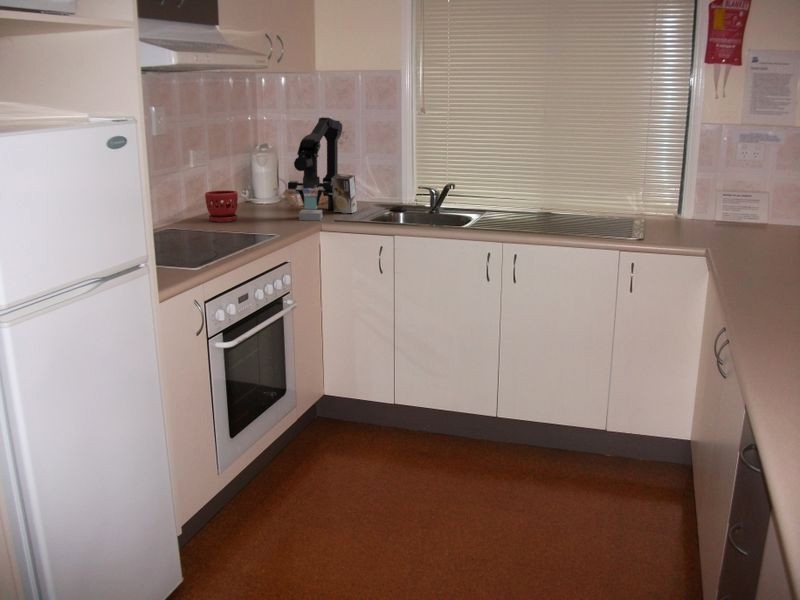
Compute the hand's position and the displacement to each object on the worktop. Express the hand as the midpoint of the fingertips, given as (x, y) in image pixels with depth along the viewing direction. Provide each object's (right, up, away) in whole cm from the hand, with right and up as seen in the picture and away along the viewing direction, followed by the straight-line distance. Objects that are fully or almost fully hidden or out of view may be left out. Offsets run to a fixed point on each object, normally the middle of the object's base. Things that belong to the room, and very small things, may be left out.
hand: (310, 205), depth 340 cm
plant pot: (-36, -7, -7) cm, 37 cm away
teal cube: (0, -1, 0) cm, 1 cm away
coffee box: (+13, -1, +18) cm, 23 cm away
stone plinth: (0, -5, +1) cm, 6 cm away
